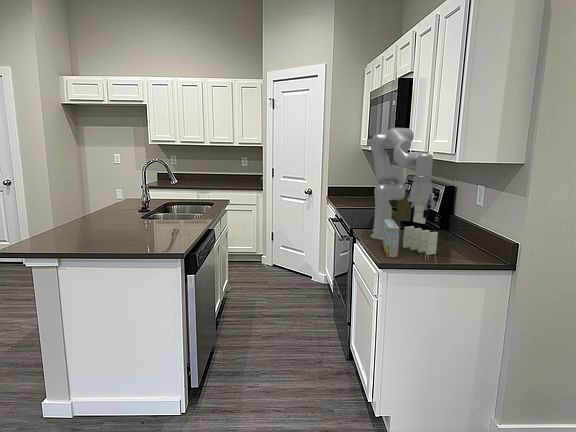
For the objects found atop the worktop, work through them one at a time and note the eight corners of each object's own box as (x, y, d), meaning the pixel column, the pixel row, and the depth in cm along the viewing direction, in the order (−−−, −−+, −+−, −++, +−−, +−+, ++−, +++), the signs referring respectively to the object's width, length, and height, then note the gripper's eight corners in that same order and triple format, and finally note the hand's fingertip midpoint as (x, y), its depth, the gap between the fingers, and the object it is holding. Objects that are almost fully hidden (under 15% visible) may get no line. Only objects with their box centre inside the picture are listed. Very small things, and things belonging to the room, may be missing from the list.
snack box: (381, 246, 216) (383, 218, 213) (391, 247, 215) (394, 219, 213) (386, 257, 195) (388, 227, 192) (398, 258, 195) (400, 227, 192)
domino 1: (402, 247, 215) (404, 227, 213) (410, 245, 218) (412, 226, 216) (404, 247, 214) (406, 227, 212) (412, 246, 217) (414, 226, 215)
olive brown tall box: (408, 221, 287) (410, 193, 283) (394, 219, 292) (396, 192, 288) (412, 219, 296) (414, 192, 292) (398, 217, 301) (400, 191, 297)
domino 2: (423, 223, 195) (425, 201, 193) (413, 221, 199) (414, 199, 197) (425, 223, 195) (427, 201, 193) (414, 221, 200) (416, 199, 198)
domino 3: (410, 249, 211) (411, 228, 209) (418, 248, 214) (419, 227, 212) (412, 250, 210) (413, 229, 208) (420, 248, 213) (421, 228, 211)
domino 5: (425, 254, 202) (427, 232, 200) (433, 252, 205) (435, 231, 203) (427, 255, 201) (429, 233, 199) (435, 253, 204) (437, 232, 202)
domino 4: (417, 251, 207) (419, 230, 205) (425, 250, 210) (427, 229, 208) (419, 252, 206) (421, 231, 204) (427, 251, 208) (429, 230, 206)
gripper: (403, 178, 198) (400, 214, 201) (433, 181, 185) (430, 220, 188) (412, 178, 203) (409, 213, 206) (443, 181, 189) (439, 218, 192)
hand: (419, 216), depth 197 cm, fingers closed on domino 2, 5 cm apart
